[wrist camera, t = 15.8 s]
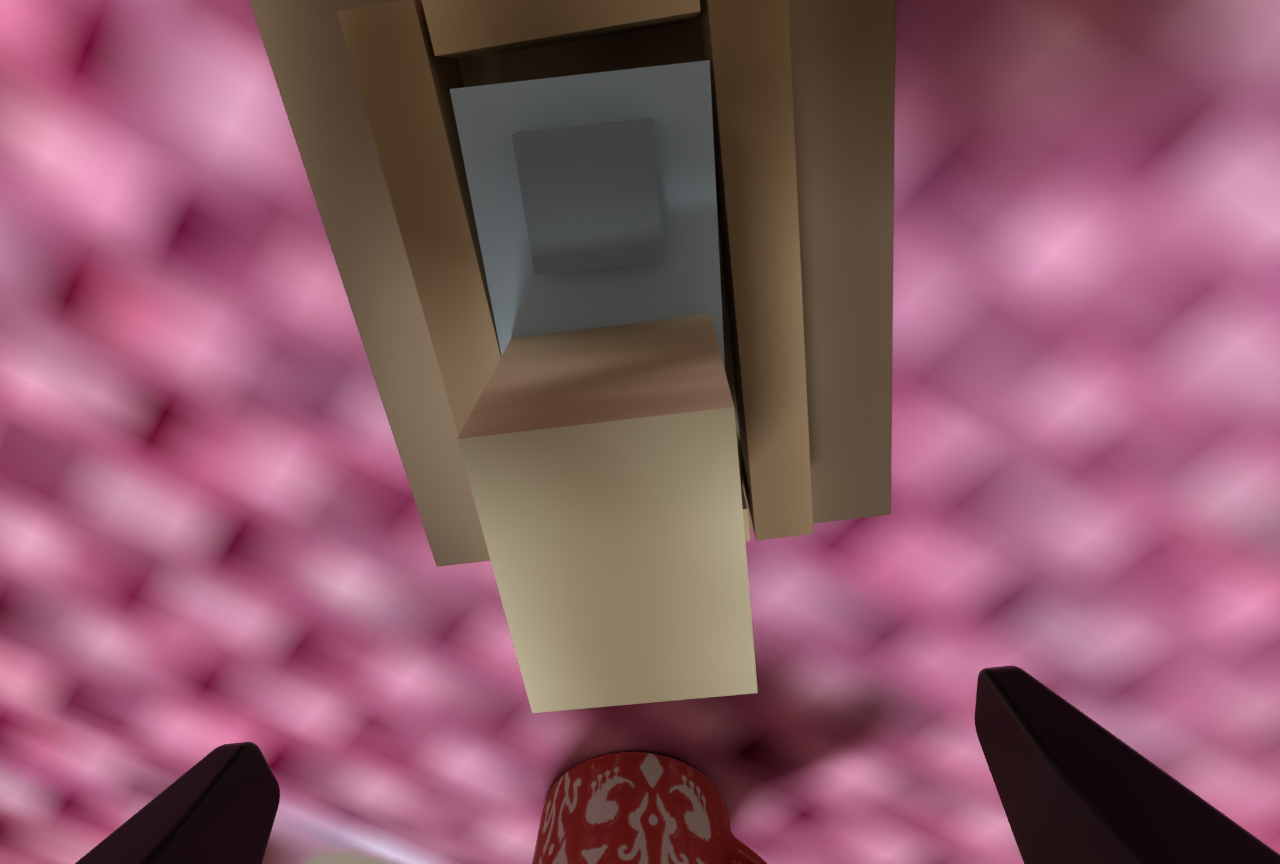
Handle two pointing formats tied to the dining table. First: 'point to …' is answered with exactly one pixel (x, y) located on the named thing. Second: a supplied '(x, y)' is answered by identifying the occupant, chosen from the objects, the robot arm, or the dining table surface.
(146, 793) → the dining table surface
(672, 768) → the mug
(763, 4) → the tray
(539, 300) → the grey block
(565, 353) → the tan rectangular block
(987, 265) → the dining table surface
